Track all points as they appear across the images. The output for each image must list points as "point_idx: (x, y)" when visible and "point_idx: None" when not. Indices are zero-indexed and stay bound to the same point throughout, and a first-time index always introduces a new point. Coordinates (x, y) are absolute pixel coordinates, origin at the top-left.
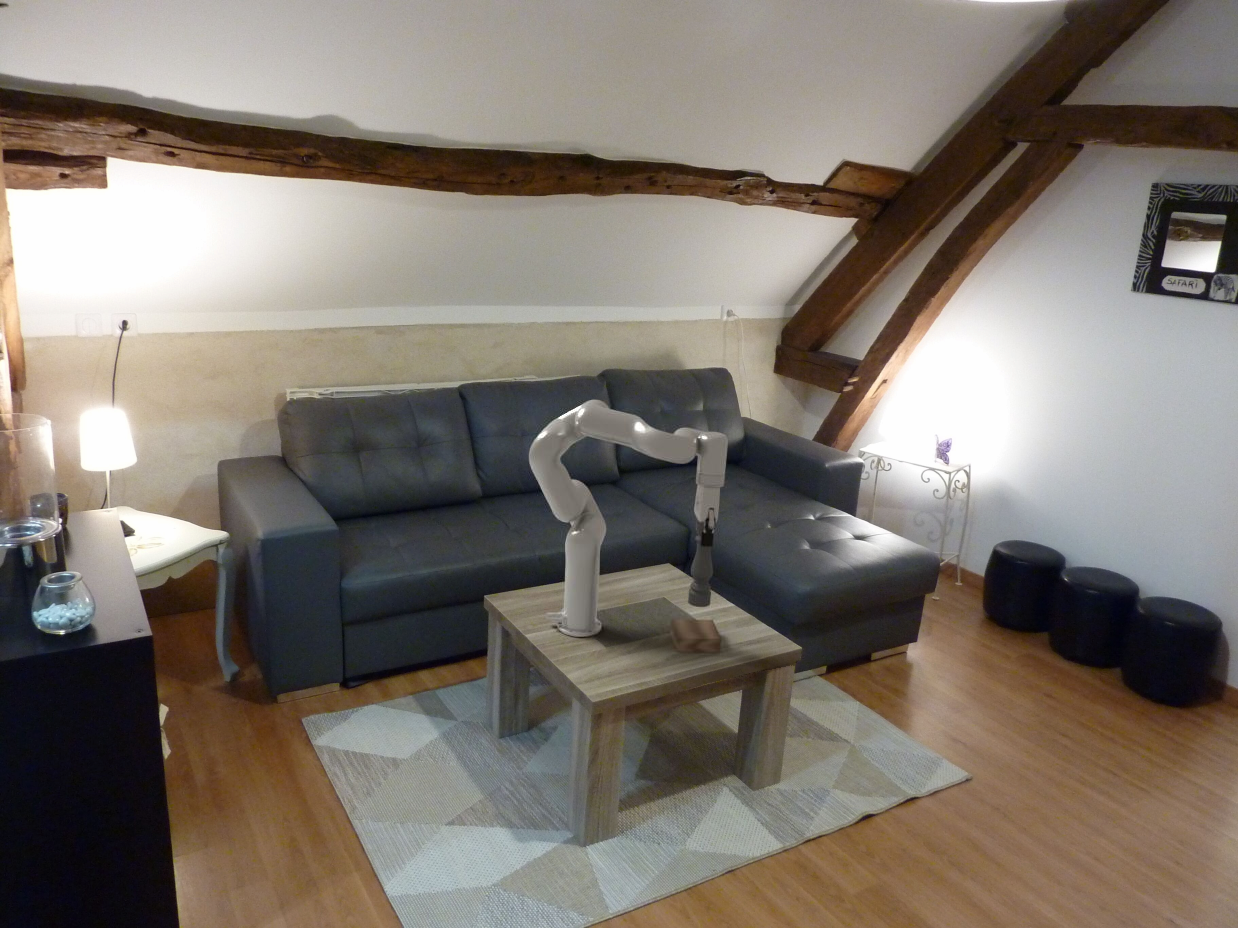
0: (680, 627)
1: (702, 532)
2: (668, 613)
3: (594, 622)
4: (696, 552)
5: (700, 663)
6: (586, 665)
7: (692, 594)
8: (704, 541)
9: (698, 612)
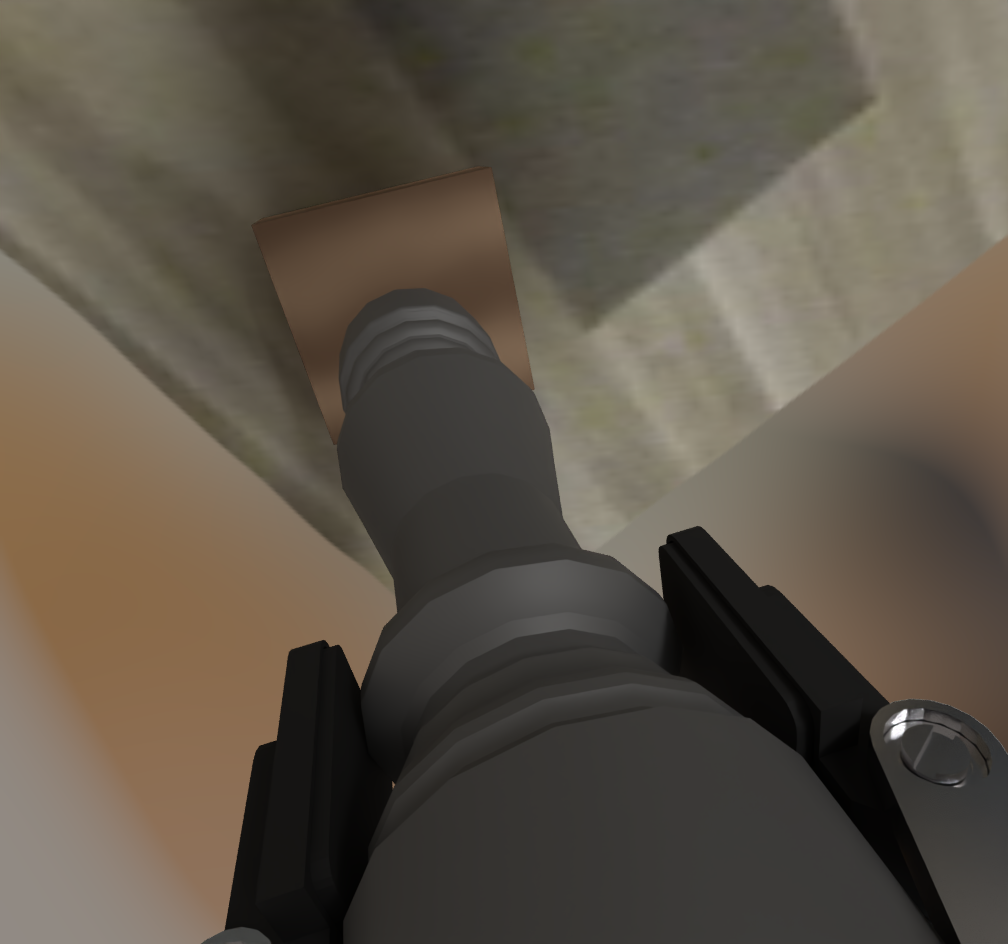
0: (399, 229)
1: (260, 906)
2: (689, 140)
3: None
4: (476, 471)
5: (183, 345)
6: None
7: (354, 337)
8: (269, 765)
9: (713, 294)
